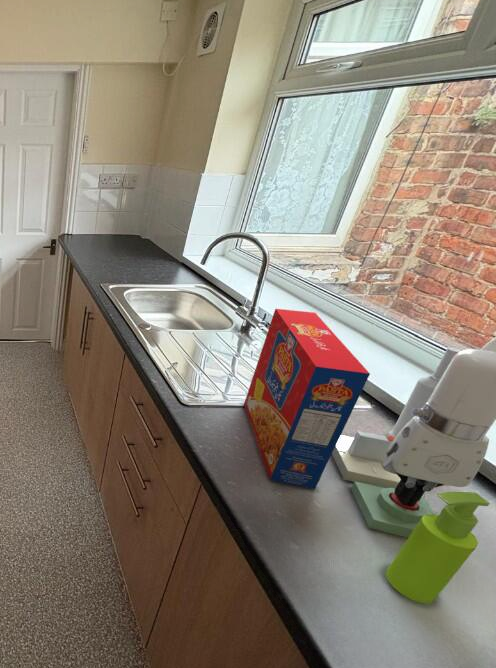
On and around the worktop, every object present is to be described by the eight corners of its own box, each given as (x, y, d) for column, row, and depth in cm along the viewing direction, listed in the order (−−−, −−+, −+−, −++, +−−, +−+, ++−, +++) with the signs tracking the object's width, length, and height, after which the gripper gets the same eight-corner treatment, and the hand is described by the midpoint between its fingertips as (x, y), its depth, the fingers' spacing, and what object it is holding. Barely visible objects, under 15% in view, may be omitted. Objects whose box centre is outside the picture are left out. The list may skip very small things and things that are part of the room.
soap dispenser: (369, 567, 70) (425, 480, 61) (411, 568, 70) (473, 481, 61) (399, 603, 65) (465, 513, 56) (445, 604, 64) (518, 514, 55)
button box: (419, 505, 81) (429, 490, 79) (446, 548, 73) (458, 532, 71) (350, 488, 85) (358, 474, 83) (368, 527, 77) (377, 512, 75)
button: (408, 502, 79) (412, 495, 78) (417, 517, 76) (422, 510, 75) (384, 496, 80) (388, 490, 79) (392, 511, 77) (396, 504, 76)
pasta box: (243, 404, 111) (275, 308, 98) (278, 410, 108) (315, 312, 96) (269, 479, 87) (315, 366, 75) (314, 489, 85) (370, 373, 72)
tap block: (324, 440, 98) (328, 431, 97) (378, 451, 94) (383, 442, 93) (342, 479, 87) (347, 470, 86) (404, 493, 84) (410, 484, 82)
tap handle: (350, 455, 90) (361, 434, 87) (347, 450, 91) (358, 429, 89) (385, 462, 88) (397, 441, 85) (381, 457, 89) (393, 436, 87)
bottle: (419, 445, 96) (475, 350, 85) (412, 454, 94) (469, 358, 82) (390, 433, 100) (440, 341, 89) (383, 441, 97) (434, 348, 86)
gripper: (406, 423, 68) (361, 502, 77) (531, 447, 63) (468, 529, 71) (387, 399, 74) (347, 474, 83) (499, 418, 69) (445, 497, 78)
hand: (403, 499), depth 77 cm, fingers closed
